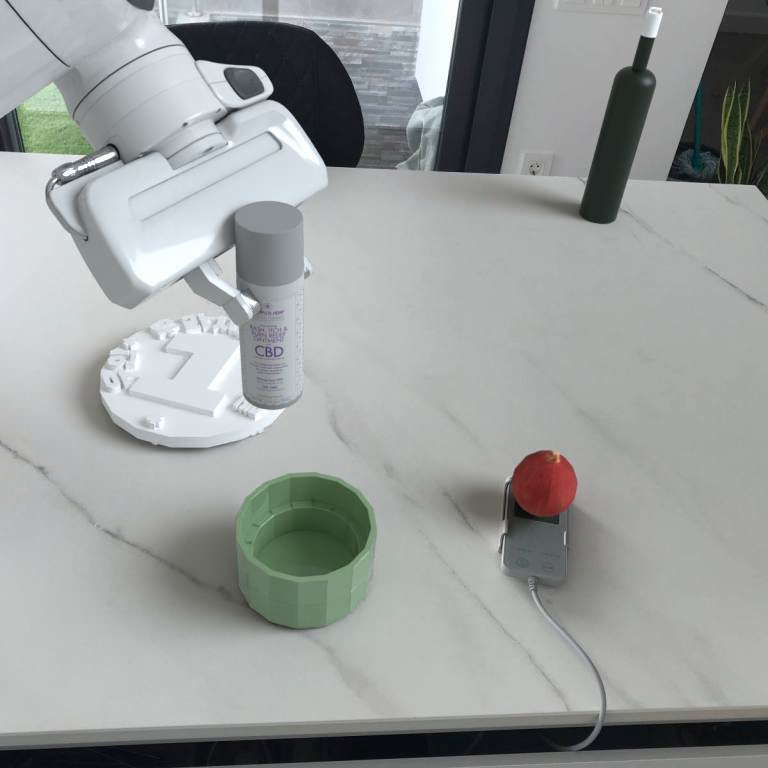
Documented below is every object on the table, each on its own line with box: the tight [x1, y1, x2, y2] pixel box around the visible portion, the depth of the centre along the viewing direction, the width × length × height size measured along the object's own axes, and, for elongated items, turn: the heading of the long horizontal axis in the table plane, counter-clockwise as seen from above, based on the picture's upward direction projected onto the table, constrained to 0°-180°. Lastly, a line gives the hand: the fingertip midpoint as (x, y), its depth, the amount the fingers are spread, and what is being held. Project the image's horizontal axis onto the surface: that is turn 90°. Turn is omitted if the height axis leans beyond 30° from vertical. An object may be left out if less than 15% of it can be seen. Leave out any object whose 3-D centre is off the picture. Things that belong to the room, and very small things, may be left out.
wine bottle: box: [578, 5, 664, 224], centre depth 111 cm, size 6×6×30 cm
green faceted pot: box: [235, 471, 378, 630], centre depth 63 cm, size 11×11×6 cm
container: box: [234, 201, 305, 410], centre depth 55 cm, size 5×5×15 cm
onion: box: [511, 449, 579, 518], centre depth 70 cm, size 6×6×8 cm
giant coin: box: [99, 312, 287, 449], centre depth 81 cm, size 20×20×3 cm
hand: (278, 298), depth 54 cm, fingers closed on container, 4 cm apart
